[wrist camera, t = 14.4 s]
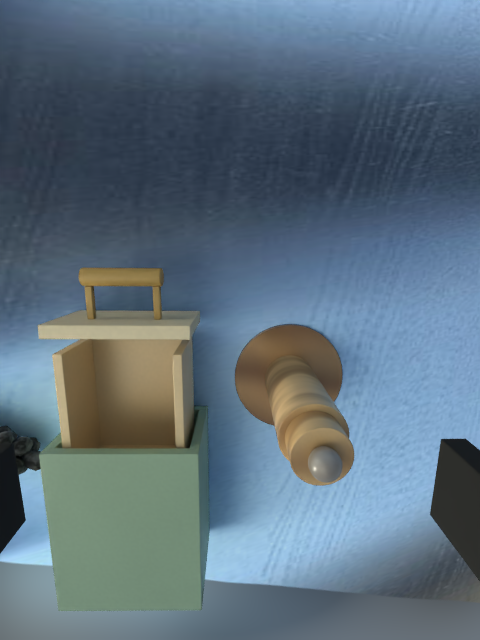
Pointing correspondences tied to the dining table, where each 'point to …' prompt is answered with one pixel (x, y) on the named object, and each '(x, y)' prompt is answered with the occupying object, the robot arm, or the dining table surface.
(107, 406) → the drawer
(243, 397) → the cork coaster
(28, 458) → the fruit
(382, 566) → the dining table surface
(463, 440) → the robot arm
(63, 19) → the dining table surface
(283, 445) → the pepper mill
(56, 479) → the cabinet
